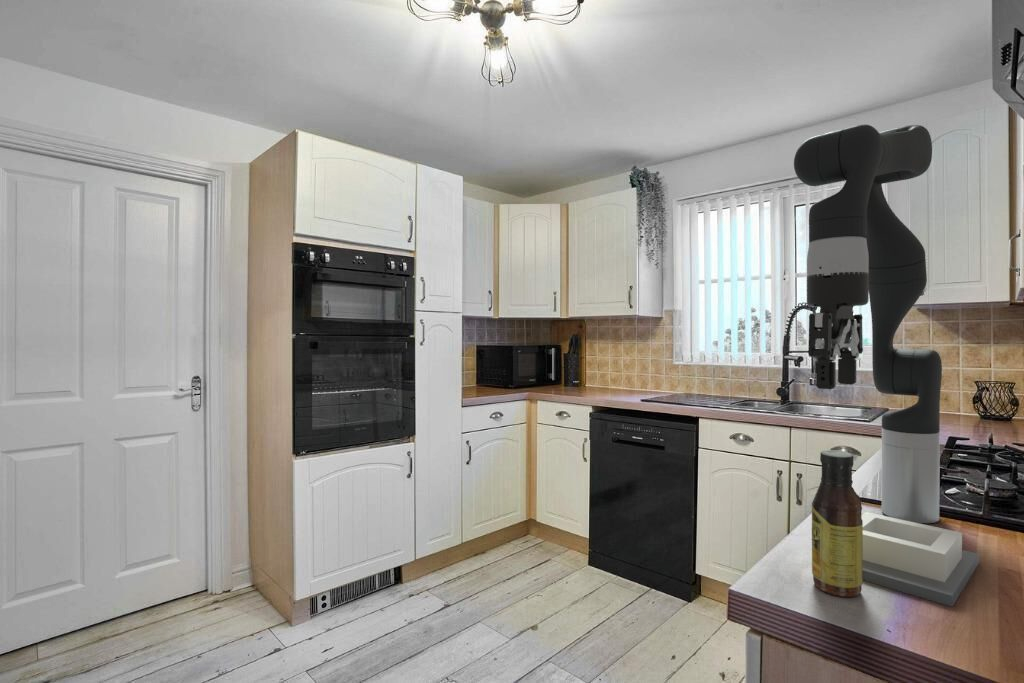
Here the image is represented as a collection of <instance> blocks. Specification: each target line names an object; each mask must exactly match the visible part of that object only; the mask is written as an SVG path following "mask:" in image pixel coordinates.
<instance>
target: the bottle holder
mask: <svg viewBox="0 0 1024 683" xmlns="http://www.w3.org/2000/svg"><path fill="white" fill-rule="evenodd" d="M861 516H862V517H861V519H862V521H863V571H862V581H864V580H865V582H868V583H871V584H874V585H878V586H881V587H886V588H888V589H891V590H895V591H899V592H901V593H906V594H908V595H911V596H914V597H919V598H921V597H922V598H921V599H924V598H925V599H924V600H929V601H931V600H932V601H931V602H935V603H938V604H941V603H942V605H945V606H948V607H953V606H954V604H955V603H956V601H957V600H958V598H959V596H960V595H961V593H962V591H963V590H964V588H965V586H966V585H967V584H968V582H969V581H970V579H971V577H972V575H973V574H974V572H975V570H976V569H977V567H979V564H980V553H976V552H973V551H969V550H965V549H963V532H960V531H956V530H951V529H947V528H943V527H938V526H933V525H928V524H925V523H916V522H910V521H906V520H901V519H896V518H893V517H890V516H888V515H881V514H878V513H877V514H876V513H873V512H872V513H871V512H869V511H868V512H867V511H865V512H864V513H862V515H861Z"/></svg>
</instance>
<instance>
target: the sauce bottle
mask: <svg viewBox="0 0 1024 683" xmlns="http://www.w3.org/2000/svg"><path fill="white" fill-rule="evenodd" d="M819 461H820V463H821V477H820V483H819V486H818V488H817V490H816V493H815V495H814V496H813V497H814V498H813V500H812V502H811V574H812V578H813V582H814V585H815V586H816V589H817V588H818V589H819V590H820V591H821V592H826V593H828V594H830V595H834V596H836V597H842V598H854V597H856V596H858V595H860V593H861V592H862V585H863V580H862V571H863V521H862V519H861V517H862V516H861V515H862V514H863V513H862V509H863V506H862V501H861V499H860V496H859V495H858V494H857V492H856V491H855V489H854V488H853V483H854V482H853V467H854V454H852V453H851V452H847V451H843V450H839V449H838V450H837V449H828V450H821V451H820V458H819Z"/></svg>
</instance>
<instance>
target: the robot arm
mask: <svg viewBox="0 0 1024 683" xmlns="http://www.w3.org/2000/svg"><path fill="white" fill-rule="evenodd" d="M930 134H931V133H930V132H929V130H928V129H927V128H926V127H925V126H923V125H919V124H911V125H904V126H903V125H902V126H901V127H895V128H891V129H886V130H882V131H878V129H876V128H875V127H874V126H872V125H869V124H865V123H864V124H857V125H853V126H849V127H846V128H842V129H837V130H834V131H830V132H827V133H823V134H820V135H819V134H818V135H815V136H812V137H810V138H808V139H806V140H805V141H804V142H802V143H801V144H800V146H799V147H798V148H797V150H796V152H795V153H794V154H795V155H794V158H793V169H794V172H795V175H796V176H797V178H798V179H799V180H800V182H802V183H803V184H805V185H806V186H809V187H819V186H824V185H830V184H836V183H839V182H840V183H841V182H845V183H844V185H843V186H842V187H841V188H840V190H839V191H838V192H837V193H834V194H833V195H831V196H827V197H826V198H824V199H821V200H818V201H816V202H815V203H813V204H812V205H811V206H810V208H809V211H808V248H807V255H806V304H807V305H808V307H811V308H819V312H810V313H809V316H808V346H807V348H808V351H807V354H808V357H810V358H813V361H814V362H815V364H816V365H815V370H816V371H815V373H816V375H815V376H816V377H815V378H816V380H815V382H816V384H815V386H816V388H817V389H821V390H833V389H835V388H836V387H837V386H836V384H837V383H836V380H837V381H838V383H839V384H840V385H855V384H856V383H857V359H859V356H860V354H861V355H862V354H863V352H864V348H863V347H864V346H863V344H864V343H863V342H864V340H863V315H862V313H854V307H862V306H866V305H868V304H869V306H870V315H871V328H872V329H871V331H872V332H871V333H872V334H871V335H872V338H871V339H872V343H871V345H872V346H871V347H872V348H871V349H872V350H871V351H872V352H871V353H872V355H871V357H872V359H871V360H872V377H873V378H872V379H873V383H874V387H875V388H876V390H877V391H878V392H879V393H881V394H885V395H897V396H898V395H899V396H914V397H918V400H917V402H916V403H914V404H913V405H911V406H909V407H906V408H902V409H898V410H892V411H889V412H885V413H883V414H882V417H881V512H882V514H884V515H885V516H887V517H892V518H896V519H901V520H906V521H910V522H915V523H919V524H933V523H937V522H940V473H941V472H940V467H941V466H940V463H941V462H940V460H941V458H940V452H941V451H940V450H941V448H940V439H941V438H940V436H941V435H940V434H941V433H940V429H941V428H940V422H941V421H940V417H941V416H940V415H941V414H940V411H941V410H940V409H941V408H940V405H941V391H942V390H941V388H942V377H943V374H942V372H943V362H942V358H941V356H940V354H939V353H938V351H936V350H934V349H921V348H917V349H915V348H894V338H895V334H896V332H897V330H898V328H899V327H900V325H901V323H902V321H903V320H904V318H906V316H907V314H908V313H909V312H910V311H911V309H912V308H913V306H914V305H915V304H916V303H917V301H918V300H919V298H920V297H921V295H922V294H923V292H924V290H925V288H926V286H927V275H928V274H927V264H926V261H927V260H926V251H925V248H924V246H923V244H922V243H921V241H920V240H919V238H917V236H916V235H915V234H914V233H913V232H912V230H910V229H909V228H908V226H906V225H905V223H903V222H902V221H901V219H900V218H899V217H898V216H897V215H896V214H895V212H894V211H893V210H892V209H891V206H890V205H889V203H888V201H887V198H886V195H885V193H884V190H883V184H889V183H894V182H898V181H906V180H911V179H915V178H917V177H920V176H922V175H924V174H925V173H926V172H927V171H928V170H929V168H930V165H931V163H932V158H933V142H932V137H931V135H930ZM837 358H838V359H837ZM836 360H837V362H836ZM836 364H837V369H836ZM836 371H837V372H836ZM836 374H837V375H836ZM836 376H837V379H836Z"/></svg>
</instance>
